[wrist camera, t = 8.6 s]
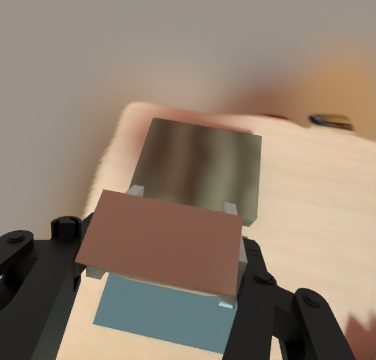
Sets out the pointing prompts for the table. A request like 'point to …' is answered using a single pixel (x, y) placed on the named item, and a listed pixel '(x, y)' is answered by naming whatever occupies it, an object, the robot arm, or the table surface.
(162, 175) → the brown flat block
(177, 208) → the salmon pink brick
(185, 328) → the mat
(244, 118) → the table surface
